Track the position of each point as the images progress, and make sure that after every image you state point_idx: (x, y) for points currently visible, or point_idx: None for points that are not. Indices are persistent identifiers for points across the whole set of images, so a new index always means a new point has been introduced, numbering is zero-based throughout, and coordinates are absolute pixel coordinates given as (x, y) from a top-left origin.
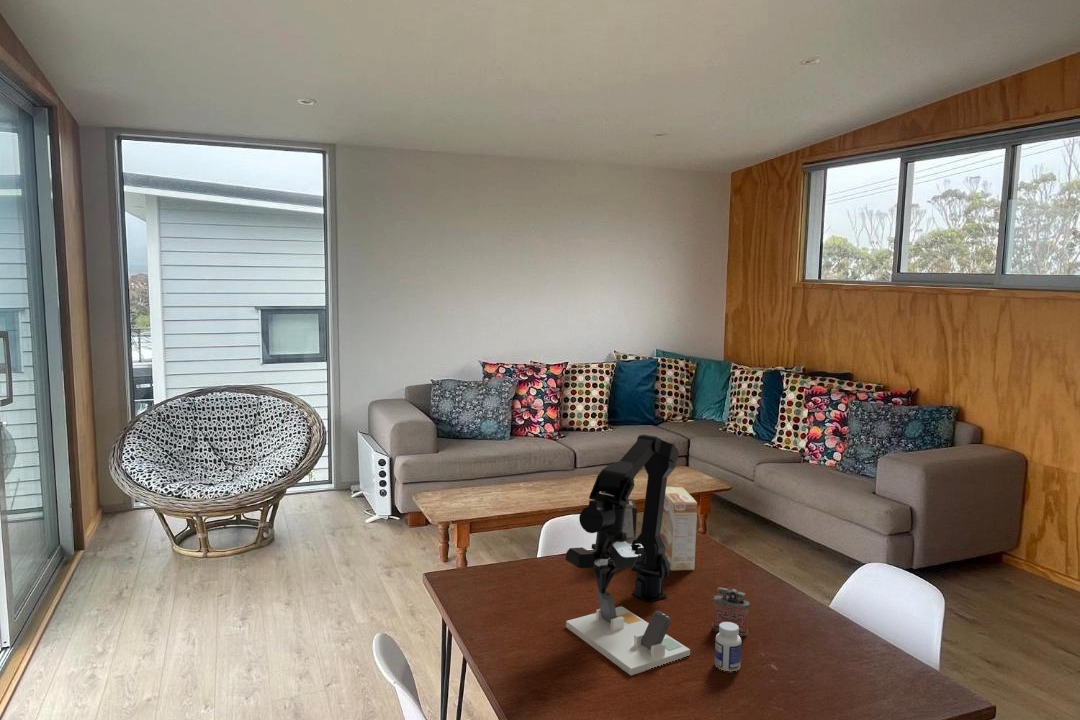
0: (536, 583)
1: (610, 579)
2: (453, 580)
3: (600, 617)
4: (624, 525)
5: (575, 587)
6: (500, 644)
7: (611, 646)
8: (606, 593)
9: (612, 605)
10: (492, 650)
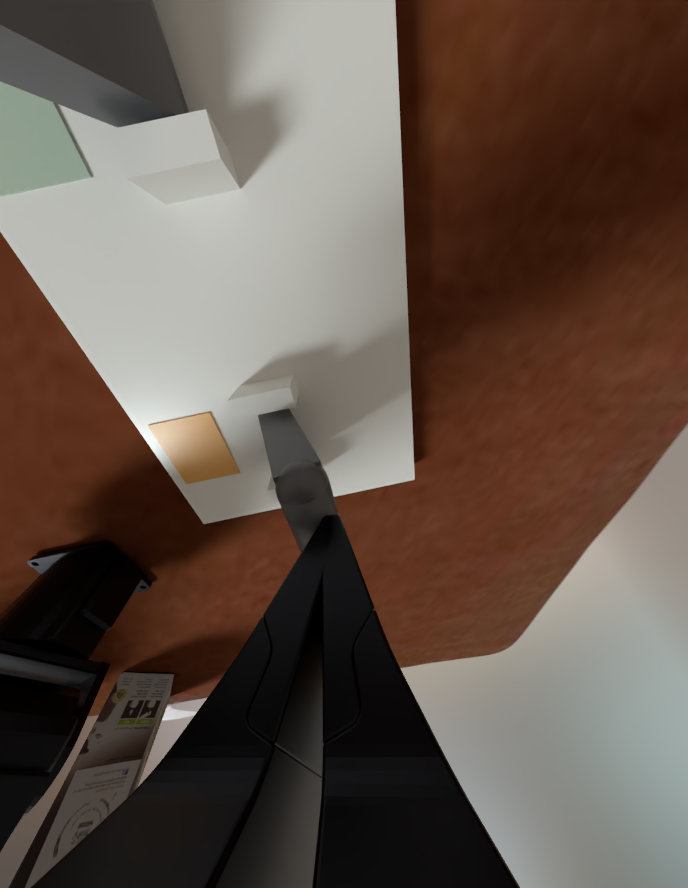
0: None
1: (264, 626)
2: (491, 637)
3: None
4: (82, 827)
5: None
6: (615, 426)
7: (360, 229)
8: (312, 506)
9: (279, 445)
10: (657, 402)
